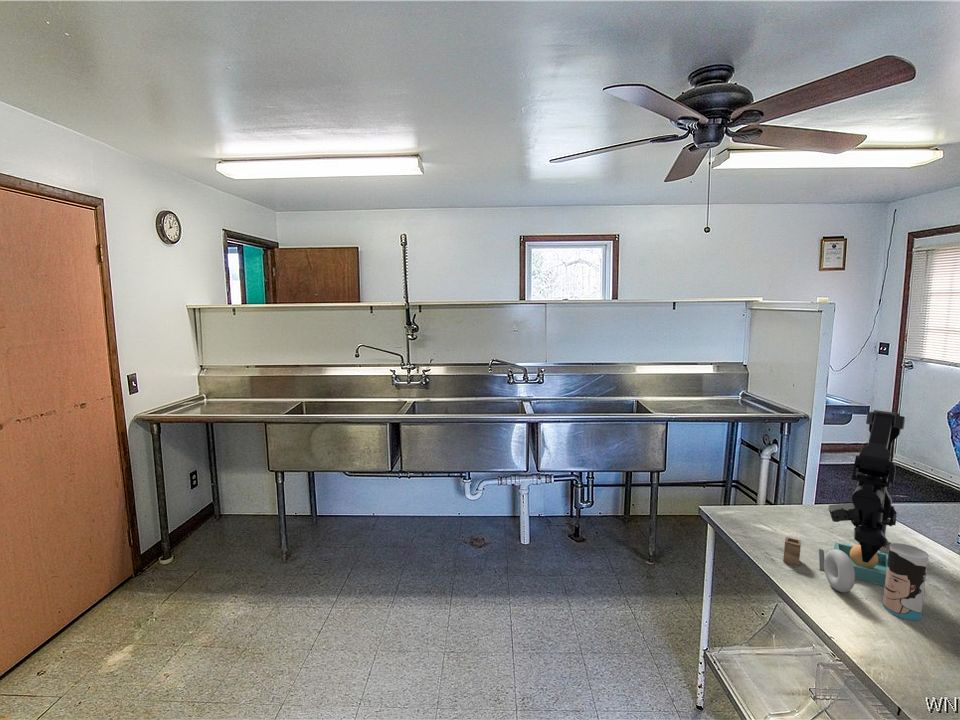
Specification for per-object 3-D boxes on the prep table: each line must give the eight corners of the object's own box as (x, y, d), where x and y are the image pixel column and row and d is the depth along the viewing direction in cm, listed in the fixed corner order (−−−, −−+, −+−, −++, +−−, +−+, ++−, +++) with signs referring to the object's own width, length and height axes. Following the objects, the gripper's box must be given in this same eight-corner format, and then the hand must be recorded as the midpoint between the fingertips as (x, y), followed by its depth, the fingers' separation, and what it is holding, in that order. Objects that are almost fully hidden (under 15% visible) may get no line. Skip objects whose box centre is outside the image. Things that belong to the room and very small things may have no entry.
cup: (884, 598, 116) (891, 540, 115) (922, 611, 112) (929, 550, 110) (880, 610, 112) (887, 550, 110) (919, 624, 107) (927, 561, 105)
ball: (873, 559, 131) (855, 539, 133) (888, 560, 125) (869, 540, 127) (857, 572, 130) (839, 552, 132) (872, 574, 125) (853, 554, 127)
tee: (783, 556, 136) (785, 536, 135) (799, 559, 134) (800, 540, 133) (783, 561, 133) (785, 541, 132) (798, 565, 131) (800, 545, 130)
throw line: (819, 549, 139) (819, 548, 139) (823, 550, 139) (823, 549, 139) (819, 569, 129) (819, 569, 129) (824, 571, 128) (824, 570, 128)
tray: (833, 552, 138) (834, 541, 137) (888, 565, 131) (889, 554, 131) (835, 573, 127) (836, 561, 127) (894, 588, 120) (896, 576, 120)
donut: (856, 602, 115) (860, 563, 114) (840, 600, 116) (844, 561, 114) (834, 578, 125) (838, 542, 123) (819, 577, 125) (823, 541, 124)
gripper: (831, 482, 139) (826, 533, 141) (833, 504, 123) (827, 561, 125) (880, 491, 132) (874, 544, 134) (889, 516, 117) (882, 575, 119)
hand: (863, 555), depth 129 cm, fingers open, 8 cm apart
